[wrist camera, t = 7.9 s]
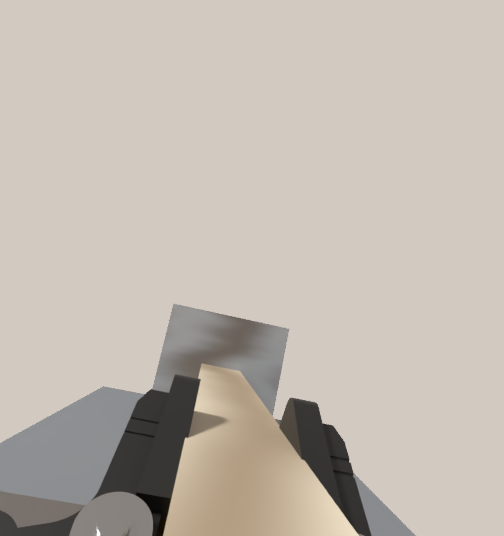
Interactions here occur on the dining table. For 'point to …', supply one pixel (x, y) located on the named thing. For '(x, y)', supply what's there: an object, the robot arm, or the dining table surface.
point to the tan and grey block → (238, 436)
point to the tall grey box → (96, 463)
